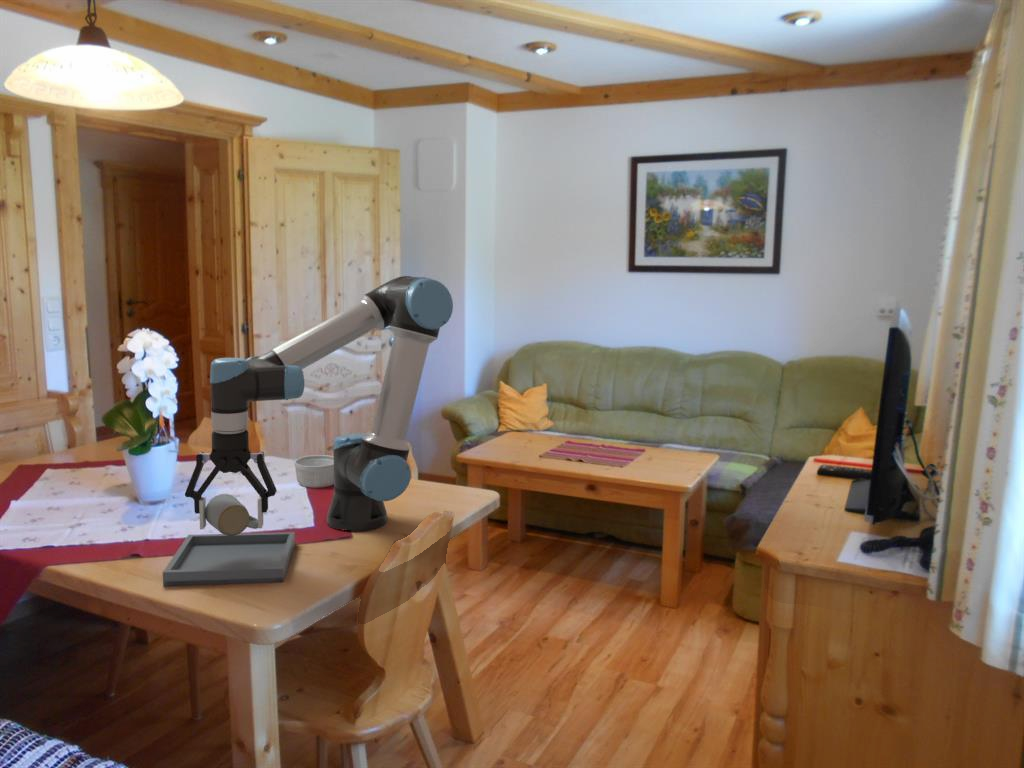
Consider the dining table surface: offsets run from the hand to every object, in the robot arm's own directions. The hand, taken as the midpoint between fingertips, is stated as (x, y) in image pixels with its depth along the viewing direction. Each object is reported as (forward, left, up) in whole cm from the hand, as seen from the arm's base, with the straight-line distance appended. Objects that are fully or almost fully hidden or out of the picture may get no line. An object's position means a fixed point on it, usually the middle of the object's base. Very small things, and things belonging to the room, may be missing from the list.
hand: (232, 526), depth 175 cm
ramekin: (-13, -62, -9) cm, 64 cm away
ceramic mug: (0, 0, -1) cm, 1 cm away
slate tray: (0, 0, -9) cm, 9 cm away
